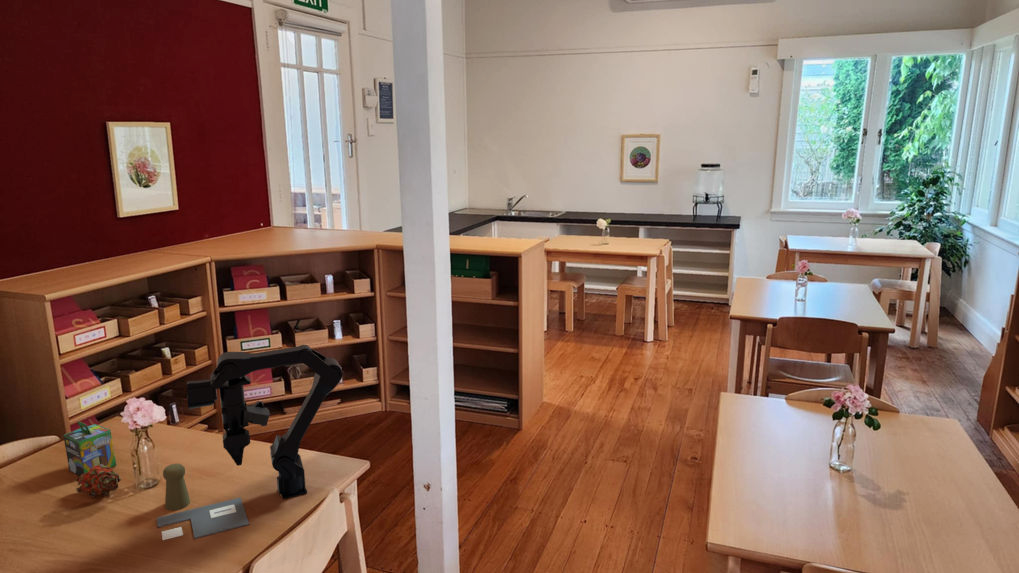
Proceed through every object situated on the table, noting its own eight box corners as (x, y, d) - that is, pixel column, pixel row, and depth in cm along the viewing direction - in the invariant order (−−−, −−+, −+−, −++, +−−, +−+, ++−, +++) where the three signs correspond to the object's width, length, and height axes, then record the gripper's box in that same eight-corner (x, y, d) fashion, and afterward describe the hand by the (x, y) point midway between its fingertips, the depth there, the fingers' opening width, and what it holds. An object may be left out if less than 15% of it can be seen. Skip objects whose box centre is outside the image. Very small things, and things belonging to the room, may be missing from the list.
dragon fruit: (120, 503, 180) (83, 503, 183) (134, 473, 186) (98, 474, 188) (98, 489, 174) (60, 490, 177) (114, 459, 179) (77, 460, 182)
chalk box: (117, 466, 196) (110, 419, 193) (84, 479, 189) (76, 430, 186) (100, 458, 201) (94, 412, 198) (67, 470, 194) (60, 423, 190)
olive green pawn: (171, 513, 173) (167, 474, 170) (160, 505, 176) (156, 467, 174) (194, 503, 177) (190, 465, 175) (183, 495, 181) (179, 458, 178)
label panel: (240, 498, 180) (240, 496, 180) (249, 524, 168) (249, 523, 168) (156, 518, 170) (156, 517, 170) (159, 548, 158) (159, 546, 158)
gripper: (268, 410, 167) (274, 467, 170) (263, 384, 183) (268, 437, 187) (220, 417, 162) (226, 476, 166) (219, 390, 179) (225, 444, 183)
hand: (238, 457), depth 176 cm, fingers open, 9 cm apart
